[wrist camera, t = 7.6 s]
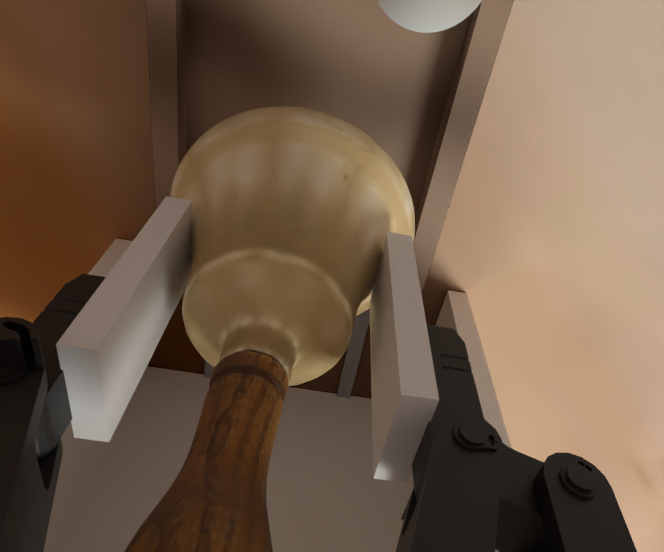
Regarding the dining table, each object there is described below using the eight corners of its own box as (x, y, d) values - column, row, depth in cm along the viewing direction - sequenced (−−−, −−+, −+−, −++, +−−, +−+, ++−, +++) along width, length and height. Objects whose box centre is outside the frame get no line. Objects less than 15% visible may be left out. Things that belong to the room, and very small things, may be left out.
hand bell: (161, 294, 19) (-281, 1088, 6) (182, 70, 15) (-1424, 1287, 1) (371, 343, 20) (393, 1133, 7) (453, 147, 16) (978, 1343, 2)
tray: (157, -355, 14) (73, -472, 10) (576, -267, 15) (660, -345, 11) (173, 252, 25) (136, 315, 21) (410, 290, 26) (419, 358, 22)
